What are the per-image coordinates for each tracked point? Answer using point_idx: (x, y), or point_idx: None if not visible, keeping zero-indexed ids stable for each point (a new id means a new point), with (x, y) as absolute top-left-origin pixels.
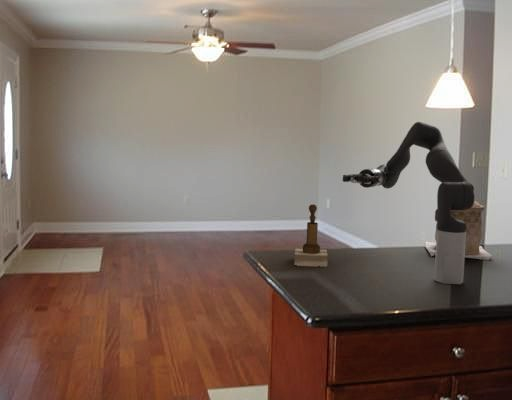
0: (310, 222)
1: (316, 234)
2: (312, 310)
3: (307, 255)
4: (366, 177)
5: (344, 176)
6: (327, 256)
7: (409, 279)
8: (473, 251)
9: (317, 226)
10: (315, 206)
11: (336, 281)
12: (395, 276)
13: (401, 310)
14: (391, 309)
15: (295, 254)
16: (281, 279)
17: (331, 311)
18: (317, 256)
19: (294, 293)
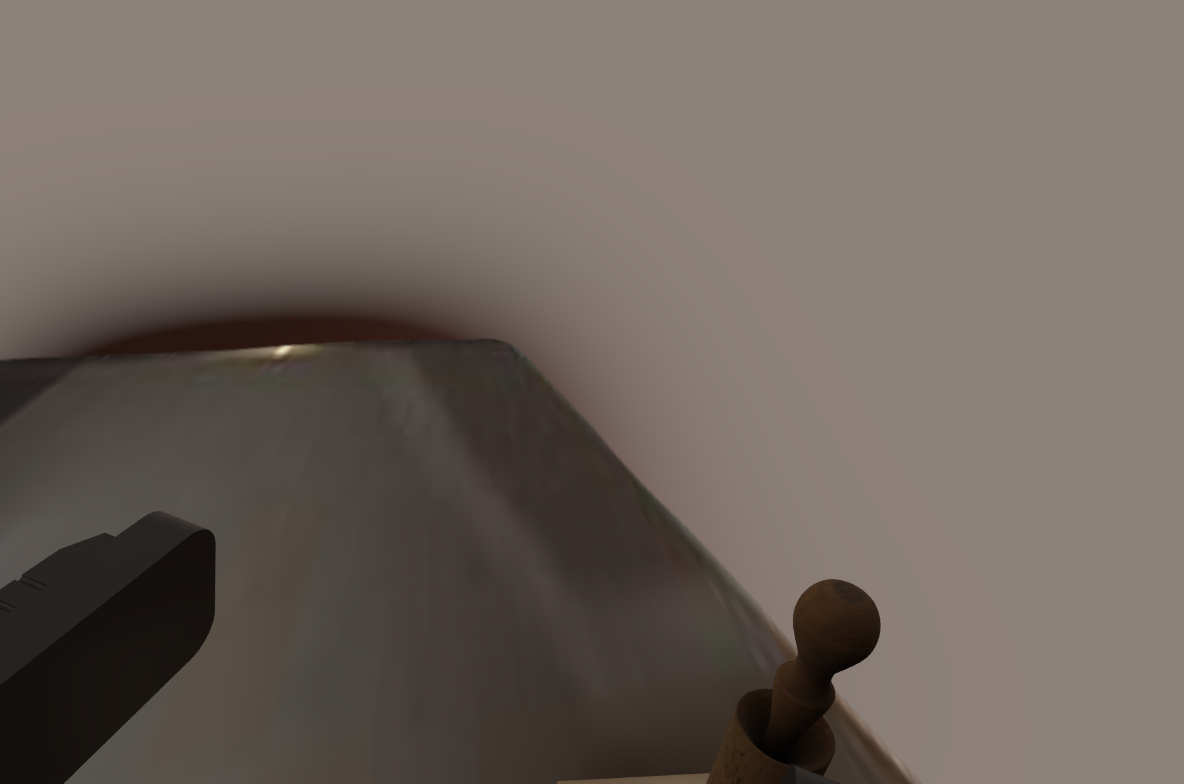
0: (818, 762)
1: (709, 775)
2: (512, 360)
3: (693, 775)
4: (96, 554)
5: (820, 778)
6: (557, 782)
7: None
8: None
9: (727, 737)
10: (810, 589)
11: (462, 562)
12: None
13: (264, 353)
14: (293, 359)
15: None
16: (693, 565)
17: (464, 355)
18: (626, 782)
19: (591, 446)
